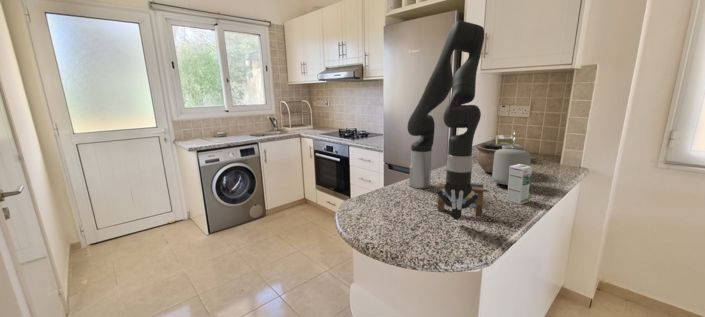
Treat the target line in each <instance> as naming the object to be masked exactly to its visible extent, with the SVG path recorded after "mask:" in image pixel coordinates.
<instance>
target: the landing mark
mask: <svg viewBox="0 0 705 317" xmlns="http://www.w3.org/2000/svg"><path fill="white" fill-rule="evenodd" d="M446 196H447V197H448V198H449V200H450V201H451V197H450V196H449V195H448V193H447V192H446ZM467 200H468V199H467V197H466V198H465V199H463V202H462V204H464V203H465V202H466V201H467ZM456 201H457V206H458V199H457V200H456ZM451 202H452V201H451ZM469 207H470V208H476V202H473V203H472V204H471V205H470V206H469ZM469 207H468V208H469Z"/></svg>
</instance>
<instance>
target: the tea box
mask: <svg viewBox="0 0 705 317" xmlns="http://www.w3.org/2000/svg"><path fill="white" fill-rule="evenodd" d="M511 137H512V138H511ZM513 139H514V134H513V135H512V134H510V135H509V134H508V135H507V134H496V135H495V145H499V144H500V143H501V142H503V143H510V145H512V144H516V138H515V139H514V140H513Z"/></svg>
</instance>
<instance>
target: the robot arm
mask: <svg viewBox="0 0 705 317" xmlns="http://www.w3.org/2000/svg"><path fill="white" fill-rule="evenodd" d="M484 40H485V28H484V27H483V26H481V25H479V24H476V23H473V22H468V21H465V20H459V19H458V20H457V21H455V22H454V23H453V24H452V26H451V28H450V30H449V33H448V35H447V37H446V40H445V43H444V45H443V48H442V50H441V53H440V56H439V58H438V61H437V63H436V65H435V67H434V69H433V72H432V73H431V76H430V77H429V79H428V82H427V84H426V85H425V88H424V92H423V93H422V95H421V97H420V100H419V101H418V103H417V106H416V107H415V109H414V111H413V112H412V114H411V115H410V117H409V119H408V122H407V132H408V134H409V135H410V136H413V137H420V138H418V139H417V140H416V141H415V142H413V143H412V144H411V146H410V148H411V149H410V150H411V151H410V166H409V187H412V188H415V189H423V190H424V189H428V188H431V184H432V182H431V181H432V157H433V156H432V151H433V145H434V138H435V126H436V124H435V119H434V117H433V116H432V115H430V114H429V113H431V112H432V111H433V110H434V109H436V108H437V107H439V105H441V104H442V103H443V102H444V101H445V100H446V99H447V97H448V96H449V93H450V92H451V95H450V99H449V101H448V104H447V106H446V107H445V110H444V113H443V122H444V125H445V127H447V128H449V129H466V131H465V132H464V133H461V134H456V135H452V136H449V138H448V146H447V148H448V151H447V158H446V159H447V160H446V165H445V166H446V175H445V177H446V178H445V183H444V184H445V186H444V188H442V189H439V188H438V191H437V195H438V194H439V196H440V197H441V199H442V200H443V201H444V203H445V205H446V207H450V208H451V218H452V219H453V220H456V221H459V219H461V218H462V210H463V209H465V210H466V209H467V208H469V206H470V205H471V204H472V203H473V202H474V201H475V200H476V199H477V198H478V193H475V192H474V191H472V187H471V183H472V168H473V167H472V166H473V159H472V158H473V157H472V156H473V142H474V137H475V134H476V130H477V127H478V126H479V124H480V120H481V116H482V113H481V109H480V108H479V106H477V105H476V104H469V103H472V102H473V101H474V99H475V98H476V83H477V82H476V81H477V71H478V67H479V62H480V58H481V54H482V50H483V45H484ZM454 51H458V52H459V51H460V52H464V53H467V54H468V57H467V59H466V61H465V62H463V64H462V65H461V66H460V67H459V68H458V69H457V70H456V72H455V73H454V74H453V70H452V69H453V68H452V56H453V53H454ZM447 193H448V195H449V196H450V197H451V201H452V202H451V201H450V200H449V198H448V197H447V196H446V194H447ZM469 194H470V198H469V199H468V200H467V201H466V202H465V203H464V204H462V202H463V199H465V198H466V197H467V196H468V195H469ZM457 199H458V205H457V201H456V200H457Z"/></svg>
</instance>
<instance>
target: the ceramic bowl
mask: <svg viewBox="0 0 705 317" xmlns="http://www.w3.org/2000/svg"><path fill="white" fill-rule="evenodd" d="M502 146H520V147H523V146H521V145H520V144H517V143H515V144H512V145H510V143H503V142H501V143H500V144H499V145H496V143H494V142H492V141H487V142H485V141H484V142H481V143H479V144H476V148H477V151H476V155H475V156H476V157H475V158H476V161H477V163H478V165H479V167H481V169H483V171H485V172H487V173H489V174H490V173H491V174H493V164H494V154H495V152H496V151H497V150H499V149H502Z"/></svg>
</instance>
